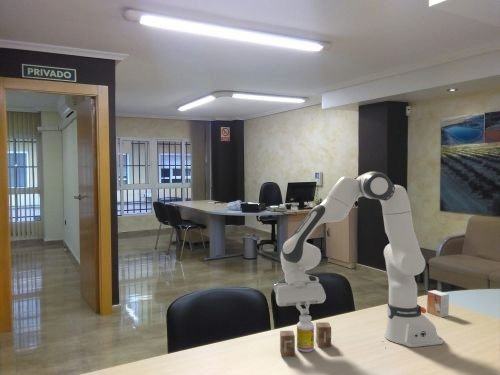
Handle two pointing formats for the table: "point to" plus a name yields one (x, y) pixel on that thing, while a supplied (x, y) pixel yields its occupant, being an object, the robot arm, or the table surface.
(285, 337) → the walnut block seven
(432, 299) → the small box
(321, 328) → the walnut block one
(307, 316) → the supplement bottle
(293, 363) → the table surface
